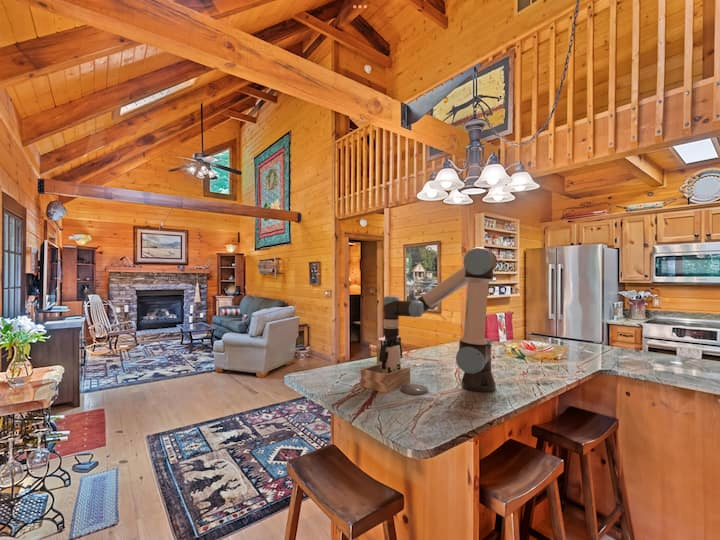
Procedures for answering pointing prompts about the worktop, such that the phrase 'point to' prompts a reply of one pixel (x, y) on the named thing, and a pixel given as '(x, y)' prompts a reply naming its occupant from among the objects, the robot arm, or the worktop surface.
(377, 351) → the supplement tub
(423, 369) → the worktop surface
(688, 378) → the worktop surface
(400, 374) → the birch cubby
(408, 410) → the worktop surface
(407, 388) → the slate coaster
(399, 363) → the soya milk
